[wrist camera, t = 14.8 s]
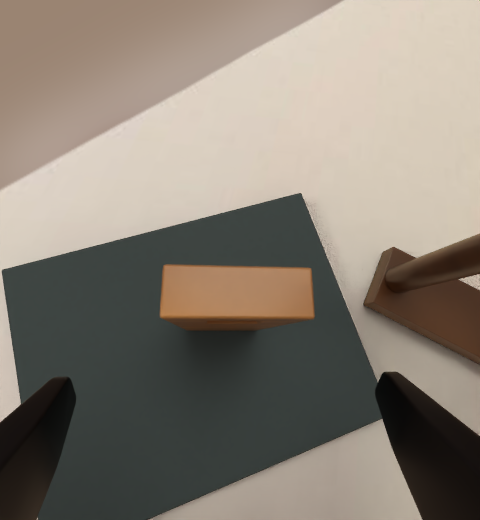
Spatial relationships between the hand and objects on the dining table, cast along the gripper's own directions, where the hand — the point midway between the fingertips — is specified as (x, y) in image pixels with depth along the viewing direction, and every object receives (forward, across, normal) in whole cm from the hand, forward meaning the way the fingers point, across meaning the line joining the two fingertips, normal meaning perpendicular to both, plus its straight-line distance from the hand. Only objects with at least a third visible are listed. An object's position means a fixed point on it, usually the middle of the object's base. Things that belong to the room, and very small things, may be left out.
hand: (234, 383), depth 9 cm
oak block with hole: (+7, 0, +4) cm, 8 cm away
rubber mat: (+7, +1, +5) cm, 9 cm away
